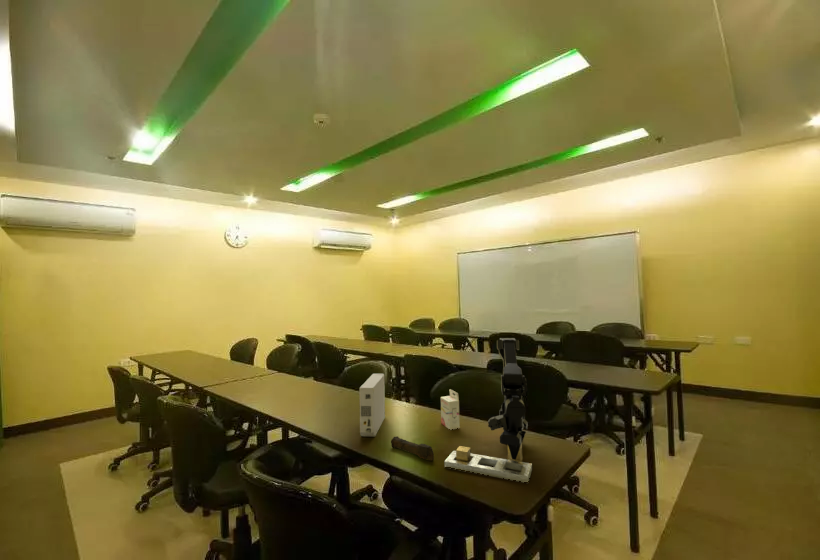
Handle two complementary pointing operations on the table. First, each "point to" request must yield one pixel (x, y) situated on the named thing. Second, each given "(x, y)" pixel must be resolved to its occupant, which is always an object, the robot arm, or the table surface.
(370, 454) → the table surface
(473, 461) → the white slotted tray
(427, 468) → the table surface
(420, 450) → the dark brown elongated piece
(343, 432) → the table surface
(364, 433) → the game console
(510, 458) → the block
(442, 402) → the ink cartridge box
